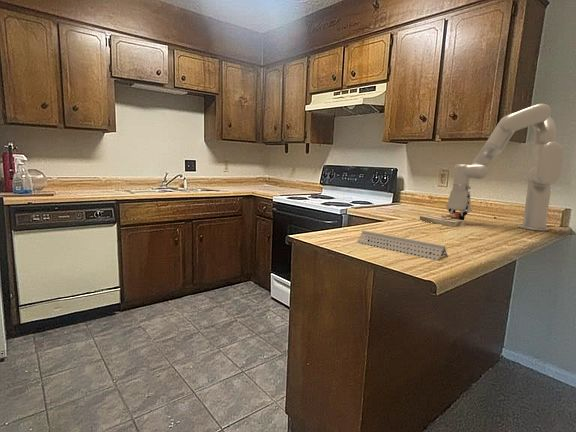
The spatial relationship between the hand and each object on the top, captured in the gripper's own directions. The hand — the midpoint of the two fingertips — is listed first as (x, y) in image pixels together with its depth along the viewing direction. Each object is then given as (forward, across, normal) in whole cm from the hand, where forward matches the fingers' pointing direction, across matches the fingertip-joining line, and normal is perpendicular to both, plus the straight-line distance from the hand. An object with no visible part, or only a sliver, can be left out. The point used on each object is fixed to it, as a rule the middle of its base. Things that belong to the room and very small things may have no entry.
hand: (457, 222), depth 188 cm
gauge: (0, 0, +5) cm, 5 cm away
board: (0, +3, +8) cm, 9 cm away
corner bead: (+1, -28, +76) cm, 81 cm away
